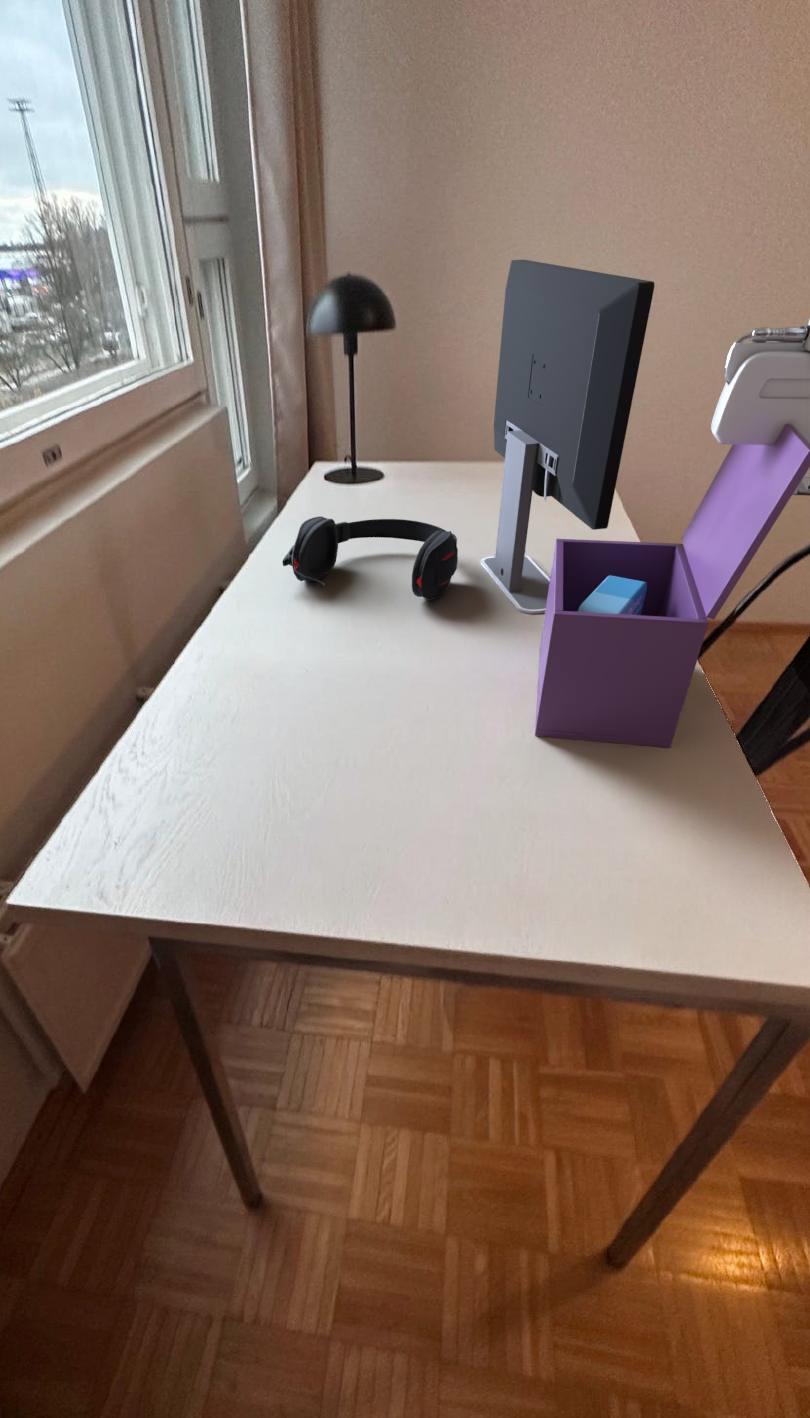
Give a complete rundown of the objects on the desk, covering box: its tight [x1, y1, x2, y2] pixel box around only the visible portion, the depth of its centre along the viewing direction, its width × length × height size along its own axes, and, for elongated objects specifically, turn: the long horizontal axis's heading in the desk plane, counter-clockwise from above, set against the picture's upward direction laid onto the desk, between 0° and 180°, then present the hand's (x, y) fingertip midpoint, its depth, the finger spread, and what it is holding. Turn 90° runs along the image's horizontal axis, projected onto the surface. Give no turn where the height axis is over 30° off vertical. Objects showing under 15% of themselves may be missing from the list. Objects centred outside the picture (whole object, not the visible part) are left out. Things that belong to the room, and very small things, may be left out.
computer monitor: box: [480, 259, 655, 615], centre depth 105 cm, size 41×8×40 cm, turn 9°
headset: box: [282, 516, 459, 601], centre depth 118 cm, size 28×26×9 cm
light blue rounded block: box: [577, 575, 647, 615], centre depth 87 cm, size 12×4×12 cm, turn 146°
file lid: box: [680, 424, 810, 620], centre depth 75 cm, size 16×22×1 cm
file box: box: [534, 538, 709, 749], centre depth 86 cm, size 15×22×15 cm
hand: (804, 494), depth 73 cm, fingers closed
